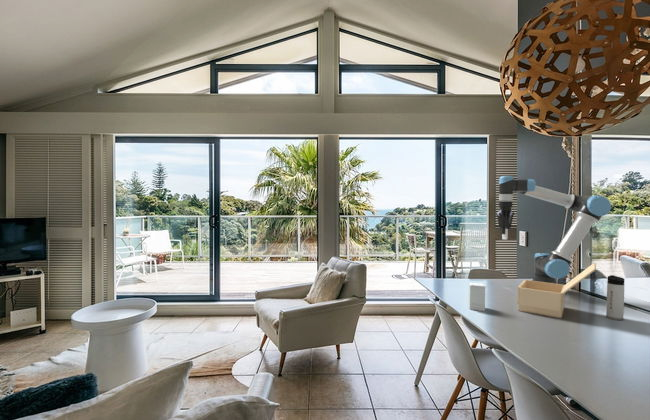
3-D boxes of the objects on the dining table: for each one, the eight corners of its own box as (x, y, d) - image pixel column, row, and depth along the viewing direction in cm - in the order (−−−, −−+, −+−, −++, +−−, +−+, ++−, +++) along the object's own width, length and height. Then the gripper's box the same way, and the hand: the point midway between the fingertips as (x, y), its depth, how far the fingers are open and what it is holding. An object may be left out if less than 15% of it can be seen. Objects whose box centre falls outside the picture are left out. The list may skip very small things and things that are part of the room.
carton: (523, 300, 192) (524, 279, 191) (564, 307, 180) (564, 284, 180) (516, 310, 173) (517, 287, 173) (561, 318, 162) (562, 293, 162)
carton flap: (594, 262, 171) (595, 263, 171) (564, 285, 179) (565, 286, 179) (594, 268, 155) (596, 269, 155) (562, 293, 163) (563, 294, 162)
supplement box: (485, 311, 172) (485, 286, 172) (469, 309, 175) (469, 285, 174) (483, 307, 179) (484, 283, 179) (468, 305, 182) (468, 281, 181)
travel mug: (618, 316, 166) (619, 275, 166) (626, 321, 160) (627, 278, 159) (603, 315, 168) (604, 274, 167) (610, 319, 161) (611, 277, 161)
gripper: (507, 201, 216) (507, 238, 217) (492, 201, 211) (491, 239, 212) (518, 201, 209) (517, 239, 210) (503, 201, 205) (502, 240, 205)
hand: (504, 239), depth 211 cm, fingers closed
